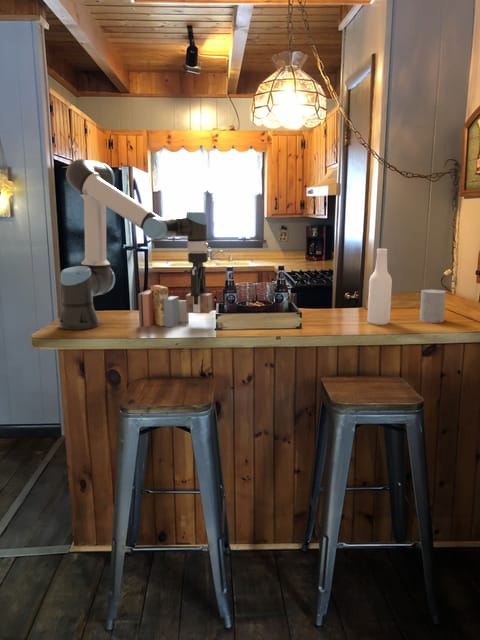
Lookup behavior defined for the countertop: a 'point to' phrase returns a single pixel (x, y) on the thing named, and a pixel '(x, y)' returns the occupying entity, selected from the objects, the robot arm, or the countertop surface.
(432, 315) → the grey cylinder
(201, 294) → the walnut block
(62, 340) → the countertop surface
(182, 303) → the book rack
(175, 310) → the shelved books
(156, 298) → the candy box
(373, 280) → the alcohol
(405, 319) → the countertop surface
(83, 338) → the countertop surface
